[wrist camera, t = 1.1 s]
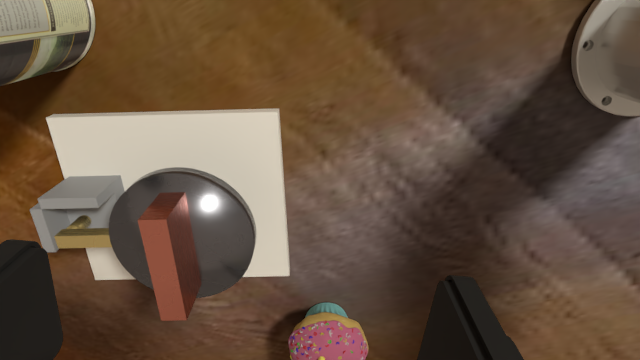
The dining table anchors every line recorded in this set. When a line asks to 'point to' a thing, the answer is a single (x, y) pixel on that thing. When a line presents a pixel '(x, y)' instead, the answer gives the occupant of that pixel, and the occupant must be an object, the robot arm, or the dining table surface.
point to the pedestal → (166, 152)
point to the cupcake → (327, 336)
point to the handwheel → (175, 236)
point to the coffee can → (43, 36)
